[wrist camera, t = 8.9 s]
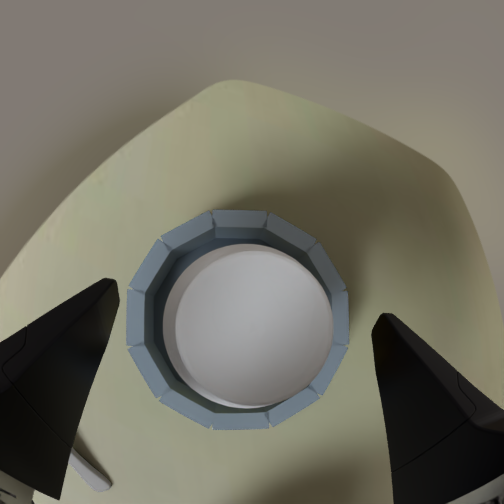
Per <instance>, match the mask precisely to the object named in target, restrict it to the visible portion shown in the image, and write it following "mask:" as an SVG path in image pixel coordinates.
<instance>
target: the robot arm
mask: <svg viewBox="0 0 504 504" xmlns="http://www.w3.org/2000/svg"><path fill="white" fill-rule="evenodd" d="M119 302H120V299H119V293H118V286H117V282H116V280H114V279H110V278H103V279H101V280H100V281H98V282H96V283H94V284H93V285H91V286H89V287H88V288H86V289H84V290H83V291H81V292H79V293H78V294H76V295H75V296H73V297H71V298H70V299H68V300H66V301H65V302H63V303H62V304H60V305H58V306H57V307H55V308H54V309H52V310H50V311H49V312H47V313H46V314H44V315H42V316H41V317H39V318H38V319H36V320H35V321H33V322H32V323H30V324H29V325H27V326H25V327H24V328H22V329H21V330H19V331H18V332H16V333H15V334H13V335H11V336H10V337H8V338H7V339H5V340H3V341H2V342H0V504H34V502H33V500H32V499H33V495H34V491H35V490H37V491H39V492H41V493H43V494H45V495H48V496H50V497H52V498H54V499H57V500H60V496H61V492H62V487H63V482H64V478H65V474H66V470H67V466H68V462H69V458H70V454H71V450H72V449H71V448H72V446H73V443H74V439H75V436H76V432H77V429H78V426H79V422H80V419H81V416H82V413H83V410H84V407H85V404H86V401H87V398H88V395H89V392H90V389H91V386H92V384H93V381H94V378H95V375H96V373H97V370H98V367H99V365H100V362H101V359H102V357H103V354H104V352H105V349H106V347H107V344H108V341H109V338H110V334H111V330H112V327H113V324H114V320H115V317H116V314H117V310H118V307H119ZM371 336H372V344H373V353H374V362H375V370H376V376H377V382H378V387H379V392H380V397H381V403H382V408H383V414H384V421H385V427H386V434H387V441H388V448H389V456H390V465H391V472H392V473H391V476H392V487H393V501H394V504H504V410H503V409H501V408H500V407H499V406H498V405H496V404H495V403H494V402H493V401H492V400H490V399H489V398H488V397H487V396H485V395H484V394H483V393H482V392H481V391H479V390H478V389H477V388H476V387H475V386H473V385H472V384H471V383H470V382H469V381H468V380H467V379H466V378H465V377H463V376H462V375H461V374H460V373H459V372H458V371H457V370H456V369H455V368H454V367H453V366H451V365H450V364H449V363H448V362H447V361H446V360H445V359H444V358H443V357H442V356H440V355H439V354H438V353H437V352H436V351H435V350H434V349H433V348H432V347H430V346H429V345H428V344H427V343H426V342H425V341H424V340H423V339H421V338H420V337H419V336H418V335H417V334H416V333H415V332H413V331H412V330H411V329H410V328H409V327H408V326H407V325H405V324H404V323H403V322H402V321H401V320H400V319H398V318H397V317H396V316H395V315H394V314H392V313H382V314H381V315H380V316H379V318H378V320H377V322H376V324H375V325H374V327H373V329H372V334H371Z"/></svg>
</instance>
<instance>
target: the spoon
mask: <svg viewBox="0 0 504 504" xmlns="http://www.w3.org/2000/svg"><path fill="white" fill-rule="evenodd" d="M71 449H72V450H71V454H70V458H69V462H68V463H69V464H70V465H71V466H72V467H73V469H74V470H75V471H76V472H77V473H78V474H79V475H80V476H81V478H82V479H83V480H84V481H85V482H86V483H87V484H88V485H89V486H90V487H91V488H92V489H93V490H95V491H97V492H103V491H106V490H108V489H110V487H111V486H112V485H111V482H110V481H109V480H108V479H107V478H106V477H105V476H104V475H102V474H101V473H100V472H99V471H98V470H96V469H95V468H94V467H93V466H91V465H90V464H89V463H88V462H87V461H86V460H85V459H83V458H82V457H81V456H80V455H79V454H78V453H77V452H76V451H75V450H74V449H73V448H71Z"/></svg>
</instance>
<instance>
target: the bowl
mask: <svg viewBox="0 0 504 504" xmlns="http://www.w3.org/2000/svg"><path fill="white" fill-rule="evenodd" d="M161 238H162V240H163V242H162V241H161V240H159V239H157V241H156V242H155V244H154V245H153V247H152V248H151V250H150V251H149V253H148V255H147V256H146V258H145V259H144V261H143V263H142V264H141V266H140V267H139V269H138V271H137V272H136V274H135V276H134V277H133V279H132V281H131V282H130V284H129V286H130V287H131V288H133V289H134V290H131V289H127V321H126V343H127V345H128V346H133V347H131V348H129V349H128V351H129V353H130V355H131V357H132V358H133V360H134V362H135V364H136V366H137V367H138V369H139V371H140V373H141V374H142V376H143V378H144V379H145V381H146V383H147V384H148V386H149V388H150V389H151V391H152V393H153V394H154V396H155V397H156V398H158V397H160V396H162V397H161V398H160V400H159V401H160V402H161V403H163V404H165V405H166V406H168V407H170V408H171V409H173V410H175V411H177V412H178V413H180V414H182V415H184V416H186V417H187V418H189V419H191V420H193V421H195V422H197V423H199V424H201V425H203V426H204V427H206V428H208V429H209V428H210V426H211V424H212V427H213V430H242V429H265V428H269V422H270V424H271V425H272V427H274V426H276V425H277V424H279V423H281V422H283V421H284V420H286V419H288V418H289V417H291V416H293V415H294V414H296V413H298V412H299V411H301V410H302V409H304V408H306V407H307V406H309V405H310V404H312V403H313V402H315V401H316V400H318V399H320V398H319V396H318V394H320V395H323V394H324V392H325V390H326V389H327V387H328V385H329V383H330V381H331V380H332V378H333V376H334V374H335V372H336V370H337V369H338V367H339V365H340V363H341V361H342V359H343V357H344V355H345V353H346V351H347V349H348V348H347V347H345V346H344V345H347V344H349V311H348V291H342V290H344V289H345V288H347V287H346V285H345V284H344V282H343V280H342V278H341V277H340V275H339V273H338V272H337V270H336V268H335V267H334V265H333V263H332V262H331V260H330V258H329V257H328V255H327V253H326V252H325V250H324V248H323V247H322V245H321V243H320V242H318V243H316V244H315V242H316V240H317V239H316V238H314V237H312V236H311V235H309V234H307V233H306V232H304V231H302V230H301V229H299V228H297V227H296V226H294V225H292V224H290V223H289V222H287V221H285V220H284V219H282V218H280V217H278V216H277V215H275V214H273V213H271V212H270V214H269V215H268V217H267V211H253V210H213V214H212V215H211V213H210V211H207V212H205V213H203V214H201V215H199V216H197V217H195V218H193V219H191V220H190V221H188V222H186V223H184V224H182V225H180V226H178V227H176V228H174V229H173V230H171V231H169V232H167V233H165V234H163V235H162V236H161ZM236 244H256V245H262V246H267V247H271V248H274V249H276V250H279V251H281V252H283V253H285V254H287V255H289V256H291V257H292V258H294V259H295V260H297V261H298V262H299V263H300V264H302V265H303V266H304V267H305V268H306V269H307V270H308V271H309V272H310V273H311V274H312V275H313V276H314V277H315V278H316V279H317V281H318V282H319V283H320V285H321V286H322V288H323V290H324V292H325V293H326V295H327V297H328V300H329V303H330V306H331V310H332V315H333V341H332V346H331V349H330V352H329V355H328V358H327V360H326V362H325V364H324V366H323V367H322V369H321V371H320V372H319V374H318V375H317V376H316V377H315V379H314V380H313V381H312V382H311V383H310V384H309V385H308V386H307V387H305V388H304V389H303V390H302V391H300V392H299V393H297V394H296V395H294V396H292V397H290V398H288V399H286V400H283V401H281V402H278V403H274V404H272V405H268V406H264V407H258V408H235V407H229V406H225V405H222V404H219V403H216V402H213V401H211V400H209V399H207V398H205V397H203V396H202V395H200V394H199V393H197V392H196V391H195V390H193V389H192V388H191V387H190V386H189V385H188V384H187V383H186V382H185V381H184V380H183V379H182V378H181V377H180V375H179V374H178V373H177V371H176V370H175V368H174V366H173V365H172V362H171V361H170V358H169V356H168V353H167V350H166V347H165V343H164V337H163V316H164V310H165V305H166V302H167V299H168V296H169V294H170V291H171V289H172V288H173V286H174V284H175V282H176V281H177V279H178V278H179V277H180V275H181V274H182V273H183V272H184V271H185V269H186V268H187V267H189V266H190V265H191V264H192V263H193V262H194V261H196V260H197V259H199V258H200V257H201V256H203V255H205V254H207V253H209V252H211V251H213V250H216V249H218V248H222V247H225V246H230V245H236ZM314 244H315V245H314ZM317 393H318V394H317Z"/></svg>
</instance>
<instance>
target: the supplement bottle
mask: <svg viewBox="0 0 504 504" xmlns="http://www.w3.org/2000/svg"><path fill="white" fill-rule="evenodd" d="M163 337H164V343H165V347H166V350H167V353H168V356H169V358H170V361H171V362H172V365H173V366H174V368H175V370H176V371H177V373H178V374H179V375H180V377H181V378H182V379H183V380H184V381H185V382H186V383H187V384H188V385H189V386H190V387H191V388H192V389H193V390H195V391H196V392H197V393H199V394H200V395H202V396H203V397H205V398H207V399H209V400H211V401H213V402H216V403H219V404H222V405H225V406H229V407H235V408H258V407H264V406H268V405H272V404H274V403H278V402H281V401H283V400H286V399H288V398H290V397H292V396H294V395H296V394H297V393H299V392H300V391H302V390H303V389H304V388H305V387H307V386H308V385H309V384H310V383H311V382H312V381H313V380H314V379H315V377H316V376H317V375H318V374H319V372H320V371H321V369H322V367H323V366H324V364H325V362H326V360H327V358H328V355H329V352H330V349H331V346H332V341H333V315H332V310H331V306H330V303H329V300H328V297H327V295H326V293H325V292H324V290H323V288H322V286H321V285H320V283H319V282H318V281H317V279H316V278H315V277H314V276H313V275H312V274H311V273H310V272H309V271H308V270H307V269H306V268H305V267H304V266H303V265H302V264H300V263H299V262H298V261H297V260H295V259H294V258H292V257H291V256H289V255H287V254H285V253H283V252H281V251H279V250H276V249H274V248H271V247H267V246H262V245H256V244H236V245H230V246H225V247H222V248H218V249H216V250H213V251H211V252H209V253H207V254H205V255H203V256H201V257H200V258H199V259H197V260H196V261H194V262H193V263H192V264H191V265H190V266H189V267H187V268H186V269H185V271H184V272H183V273H182V274H181V275H180V277H179V278H178V279H177V281H176V282H175V284H174V286H173V288H172V289H171V291H170V294H169V296H168V299H167V302H166V305H165V310H164V316H163Z"/></svg>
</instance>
